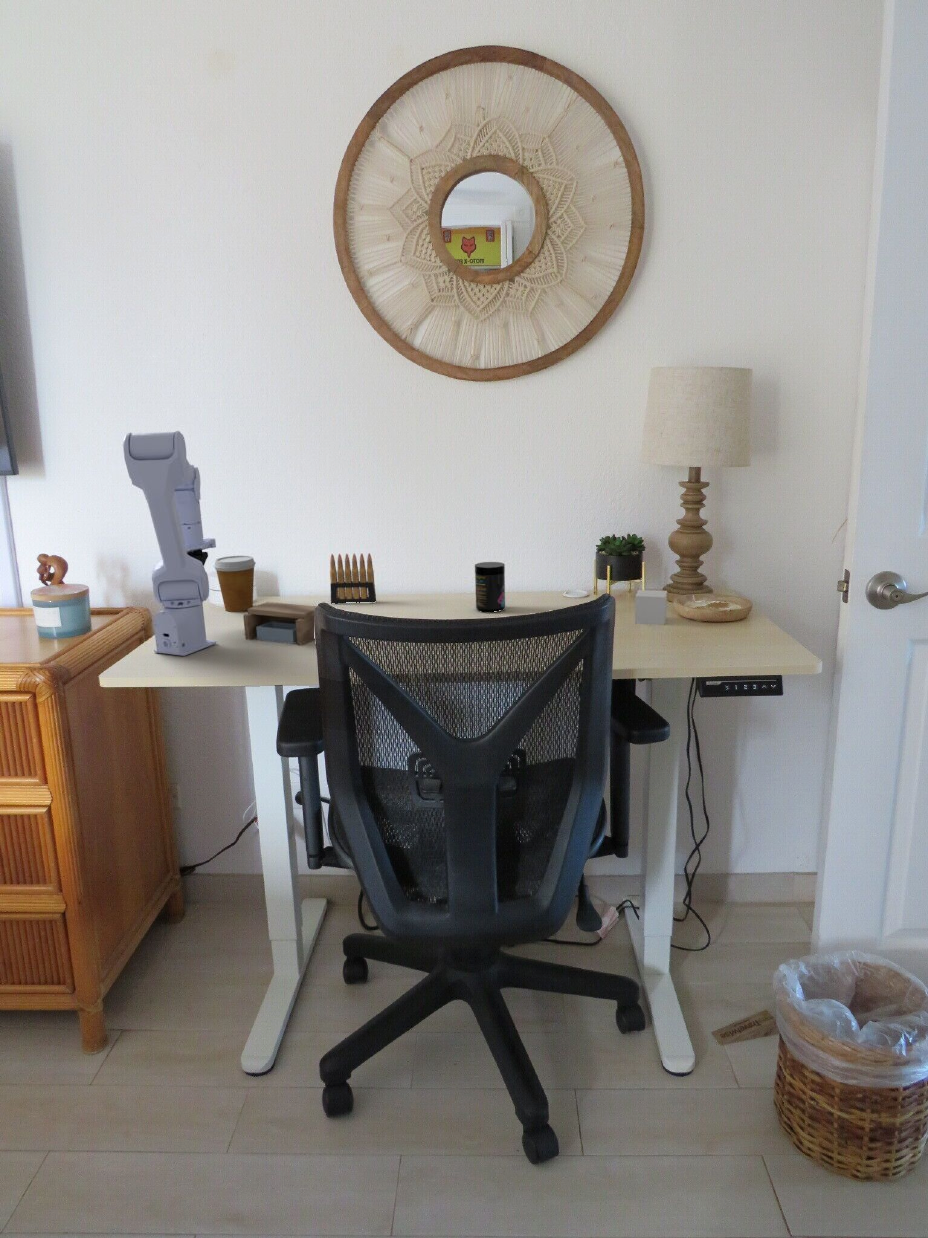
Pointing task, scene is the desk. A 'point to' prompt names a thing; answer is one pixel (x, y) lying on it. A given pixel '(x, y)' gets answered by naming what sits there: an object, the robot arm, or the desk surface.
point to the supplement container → (490, 586)
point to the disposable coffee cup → (236, 581)
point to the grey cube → (650, 607)
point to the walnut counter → (281, 619)
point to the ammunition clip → (352, 580)
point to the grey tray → (277, 632)
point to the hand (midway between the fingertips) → (194, 586)
